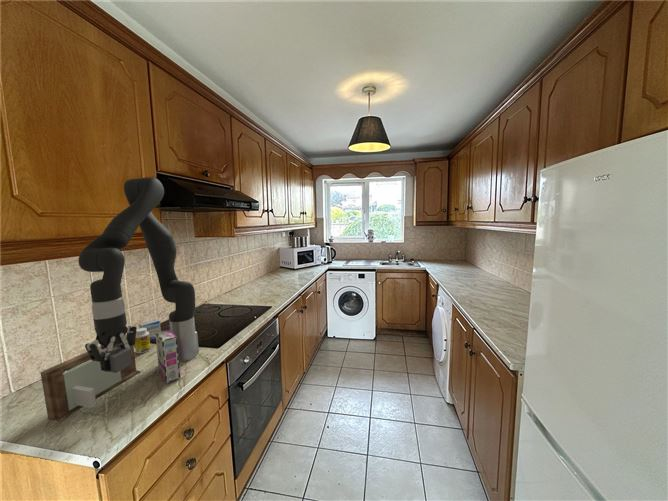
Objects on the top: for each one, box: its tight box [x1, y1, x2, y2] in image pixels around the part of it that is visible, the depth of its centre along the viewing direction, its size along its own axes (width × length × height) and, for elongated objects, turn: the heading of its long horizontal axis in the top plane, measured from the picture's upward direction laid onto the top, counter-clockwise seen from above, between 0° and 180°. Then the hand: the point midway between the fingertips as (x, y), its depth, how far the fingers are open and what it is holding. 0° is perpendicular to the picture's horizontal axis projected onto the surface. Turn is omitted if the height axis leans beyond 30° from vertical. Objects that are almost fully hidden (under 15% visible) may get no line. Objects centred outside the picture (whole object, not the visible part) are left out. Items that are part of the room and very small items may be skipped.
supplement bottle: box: [134, 328, 152, 354], centre depth 122 cm, size 6×6×10 cm
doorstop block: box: [100, 347, 132, 373], centre depth 84 cm, size 5×6×5 cm
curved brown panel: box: [40, 334, 141, 422], centre depth 92 cm, size 26×4×15 cm, turn 165°
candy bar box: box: [155, 328, 181, 384], centre depth 102 cm, size 11×5×16 cm, turn 45°
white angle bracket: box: [63, 360, 121, 411], centre depth 89 cm, size 16×8×12 cm, turn 165°
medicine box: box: [138, 318, 162, 342], centre depth 135 cm, size 8×4×9 cm, turn 143°
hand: (116, 365), depth 84 cm, fingers closed on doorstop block, 5 cm apart
